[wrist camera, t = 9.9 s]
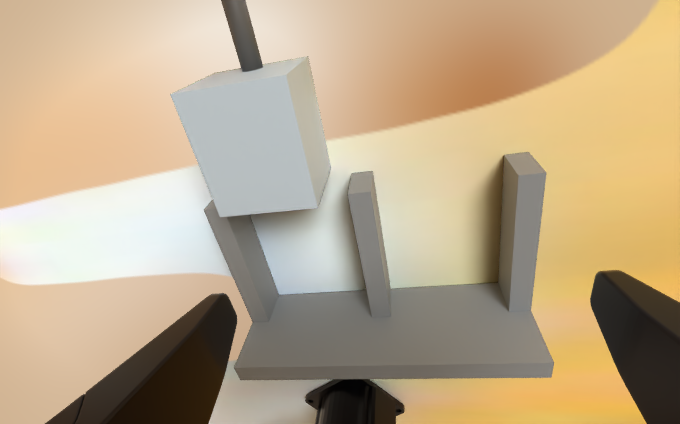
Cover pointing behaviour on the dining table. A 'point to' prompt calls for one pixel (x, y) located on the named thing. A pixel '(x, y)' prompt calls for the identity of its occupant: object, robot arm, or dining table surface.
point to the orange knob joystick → (256, 129)
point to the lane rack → (396, 303)
